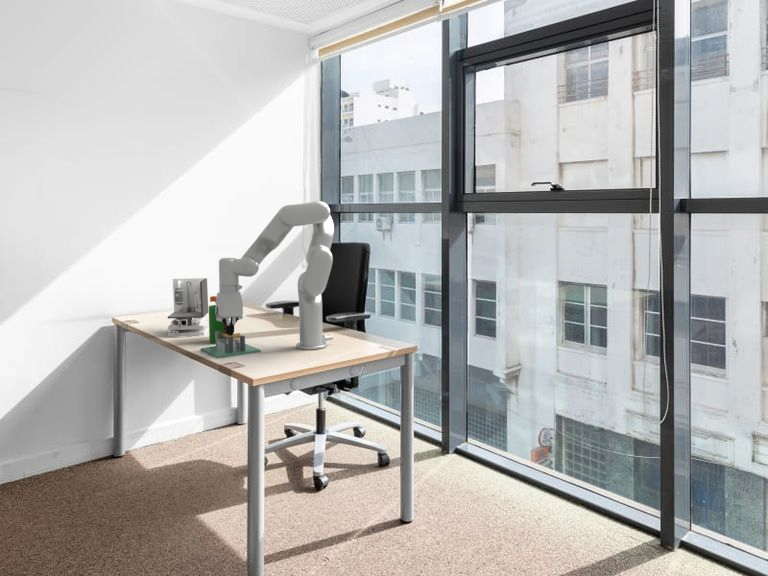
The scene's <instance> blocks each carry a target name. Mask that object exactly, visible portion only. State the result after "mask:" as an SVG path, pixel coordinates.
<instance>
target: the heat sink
mask: <svg viewBox="0 0 768 576" xmlns="http://www.w3.org/2000/svg"><path fill="white" fill-rule="evenodd" d="M215 342H216V344H215V346H216V347H217V349H219V350H222V351H224V352H228V337H227V338H222V339H220V331H215ZM235 350H240V338H236V339H233V351H235Z"/></svg>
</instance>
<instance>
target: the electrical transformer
mask: <svg viewBox="0 0 768 576" xmlns="http://www.w3.org/2000/svg"><path fill="white" fill-rule="evenodd" d="M172 292H173V312H172V313H171V314H169V315H168V316H167V319H171V322H170V324H169V325H168V326H167V330H168V331H167V333H168V335H167V336H185V337H200V336H199V335H204V336H205V335H206V334H207V333H208V332H209V330H208V329H209V319H206V317H207V316H206V315H207V314H209V297H208V296H209V295H208V294H209V293H208V292H209V291H208V278H202V277H201V278H172ZM207 331H208V332H207ZM206 332H207V333H206ZM205 333H206V334H205Z"/></svg>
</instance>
